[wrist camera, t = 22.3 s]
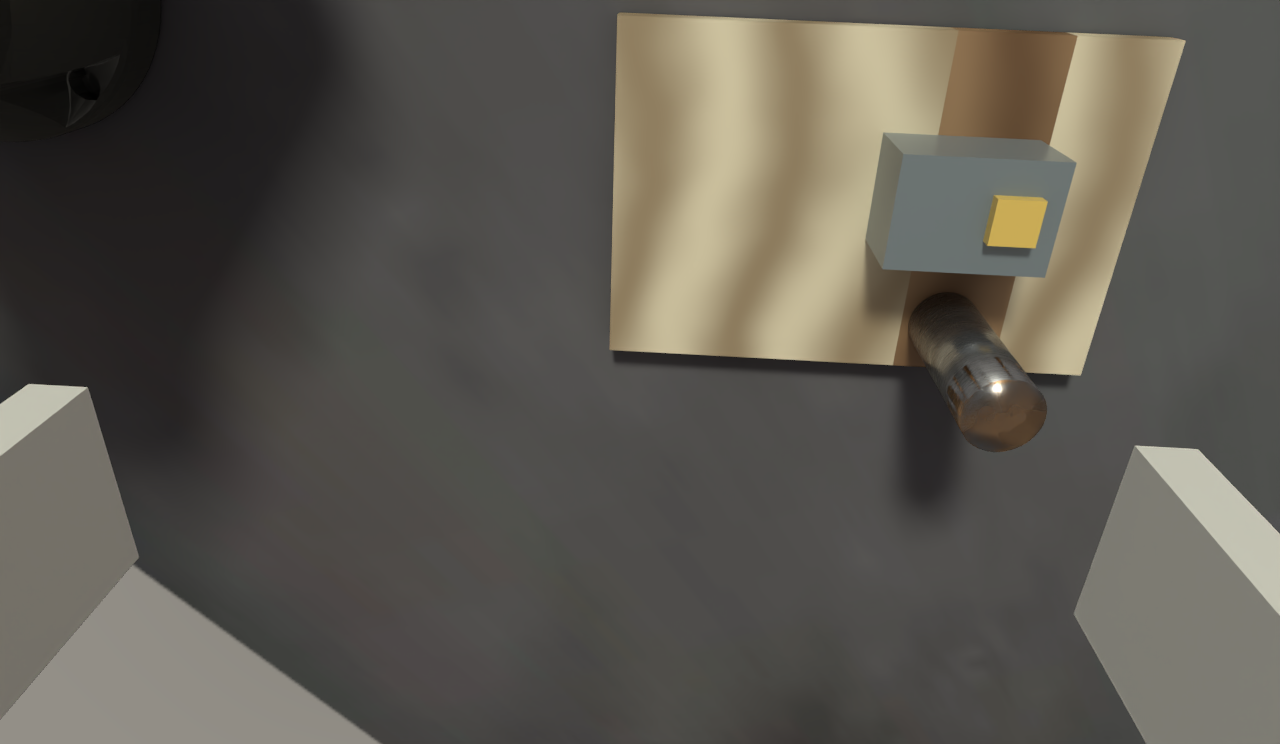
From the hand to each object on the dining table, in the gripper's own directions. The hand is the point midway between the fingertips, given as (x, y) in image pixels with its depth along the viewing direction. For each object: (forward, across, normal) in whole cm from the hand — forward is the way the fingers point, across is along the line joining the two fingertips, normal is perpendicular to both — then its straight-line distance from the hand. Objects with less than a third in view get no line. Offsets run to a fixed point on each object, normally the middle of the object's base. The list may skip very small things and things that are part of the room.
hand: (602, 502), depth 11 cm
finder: (+30, +14, -4) cm, 34 cm away
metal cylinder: (+30, +14, -11) cm, 35 cm away
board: (+32, +10, -5) cm, 34 cm away
